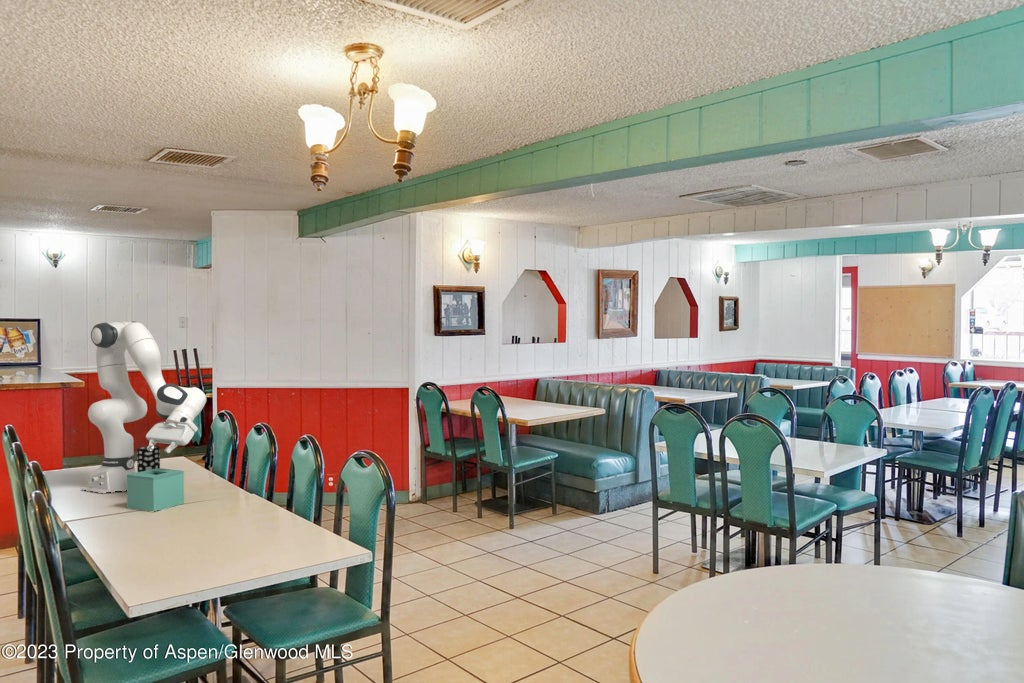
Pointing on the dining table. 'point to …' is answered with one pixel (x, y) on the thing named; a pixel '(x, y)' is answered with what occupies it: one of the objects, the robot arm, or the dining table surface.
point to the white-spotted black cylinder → (148, 458)
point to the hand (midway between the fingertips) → (157, 451)
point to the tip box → (155, 489)
